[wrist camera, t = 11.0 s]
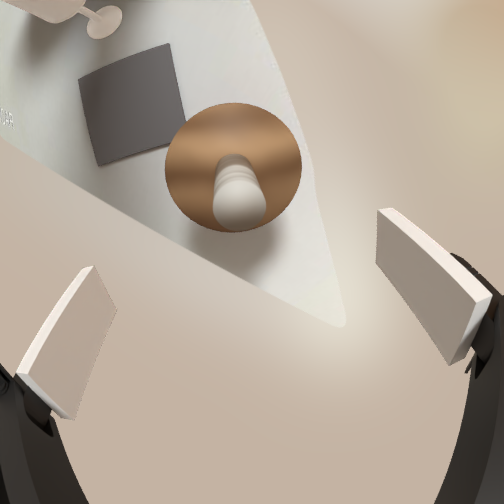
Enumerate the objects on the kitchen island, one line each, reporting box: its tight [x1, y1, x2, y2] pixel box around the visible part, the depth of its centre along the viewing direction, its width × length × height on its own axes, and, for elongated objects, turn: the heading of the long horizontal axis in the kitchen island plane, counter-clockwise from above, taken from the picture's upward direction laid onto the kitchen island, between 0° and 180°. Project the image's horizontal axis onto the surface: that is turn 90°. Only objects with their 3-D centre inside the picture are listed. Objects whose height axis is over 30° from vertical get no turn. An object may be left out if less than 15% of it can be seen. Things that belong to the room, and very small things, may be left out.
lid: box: [165, 103, 302, 232], centre depth 25 cm, size 15×15×11 cm
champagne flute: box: [2, 0, 122, 39], centre depth 16 cm, size 7×7×24 cm
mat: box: [78, 43, 186, 166], centre depth 35 cm, size 16×16×1 cm
